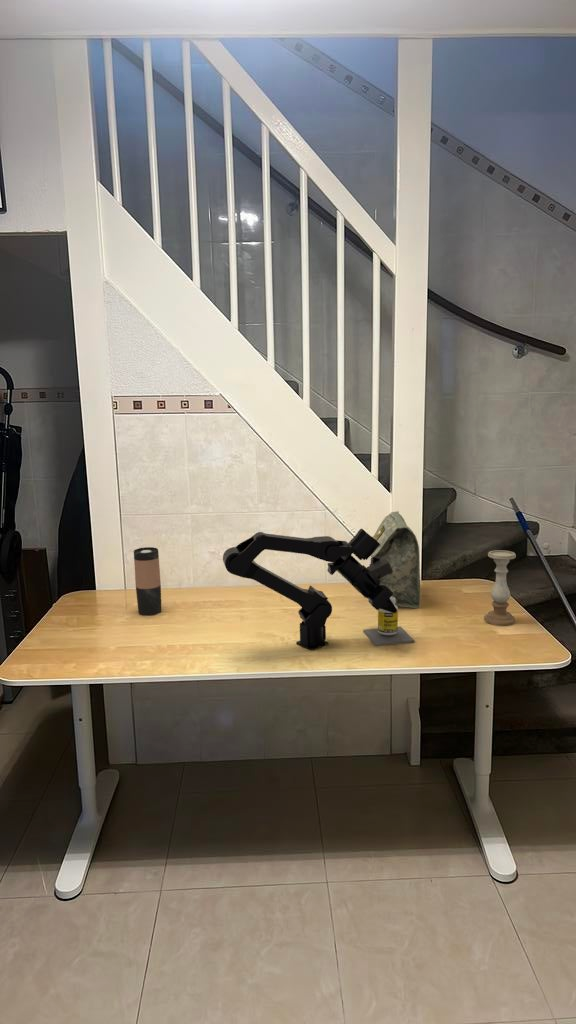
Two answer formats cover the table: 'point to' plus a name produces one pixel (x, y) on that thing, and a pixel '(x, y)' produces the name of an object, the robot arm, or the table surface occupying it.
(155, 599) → the travel mug
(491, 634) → the table surface
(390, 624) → the supplement bottle
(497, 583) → the candle holder
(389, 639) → the mat
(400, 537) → the bag
